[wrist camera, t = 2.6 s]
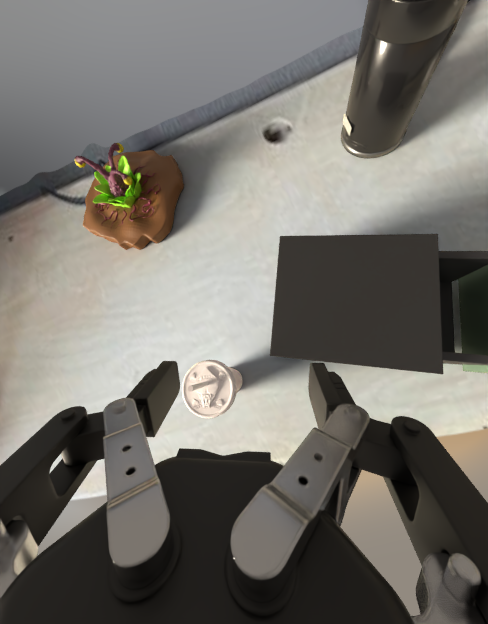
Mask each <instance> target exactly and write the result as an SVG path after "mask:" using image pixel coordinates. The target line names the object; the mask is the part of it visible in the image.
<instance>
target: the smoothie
mask: <svg viewBox="0 0 488 624" xmlns="http://www.w3.org/2000/svg"><path fill="white" fill-rule="evenodd" d="M241 386H242V376H241V374H240V372H239V371H237V370H236V369H233V368H230V367H227V366H226V365H225V364H223V363H222V362H219V361H216V360H206V361H201V362H198V363H196V364H195V365H193V366H192V367H191V368H190V369H189V370H188V372H187V373H186V375H185V377H184V380H183V384H182V395H183V399H184V402H185V404H186V406H187V407H188V408H189V410H190V411H191V412H192V413H194V414H195V415H197V416H199V417H202V418H214V417H217V416H219V415H221V414H223V413H225V412H226V411H227V410H228V409H229V408H230V407H231V405H232V404H233V402H234V399H235V397H236V394H237V392H238V391H239V389H240V388H241Z"/></svg>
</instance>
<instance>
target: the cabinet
mask: <svg viewBox="0 0 488 624" xmlns="http://www.w3.org/2000/svg"><path fill="white" fill-rule="evenodd" d="M270 356H277V357H287V358H296V359H305V360H315V361H324V362H334V363H343V364H352V365H362V366H371V367H380V368H390V369H399V370H408V371H418V372H427V373H437V374H443V357H442V330H441V304H440V277H439V251H438V234H405V235H332V236H280V243H279V255H278V267H277V279H276V290H275V302H274V314H273V326H272V338H271V350H270Z"/></svg>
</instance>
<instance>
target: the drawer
mask: <svg viewBox="0 0 488 624" xmlns="http://www.w3.org/2000/svg"><path fill="white" fill-rule="evenodd" d="M439 277H440V304H441V330H442V357H443V363H448V364H463V371H469V372H480V373H488V251H439ZM457 279H458V285H459V304H460V323H461V343H462V353H455V348H454V326H453V305H452V283H451V282H453V281H455V280H457Z"/></svg>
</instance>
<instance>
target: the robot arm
mask: <svg viewBox="0 0 488 624" xmlns="http://www.w3.org/2000/svg"><path fill="white" fill-rule="evenodd" d="M469 1H470V0H368V5H367V10H366V16H365V21H364V26H363V31H362V36H361V41H360V46H359V51H358V56H357V61H356V66H355V71H354V76H353V81H352V86H351V91H350V96H349V101H348V106H347V111H346V115H345V113H344V117H343V124H344V125H343V128H342V133H341V141H342V144H343V146H344V148H345V149H346V150H347V151H348V152H349V153H351V154H352V155H354V156H357V157H361V158H376V157H380V156H383V155H386V154H388V153H389V152H391V151H393V150H394V149H395V148H396V147H397V146H398V145H399V144H400V143H401V141H402V139H403V137H404V135H405V133H406V130H407V127H408V125H409V123H410V121H411V119H412V117H413V115H414V113H415V111H416V109H417V107H418V104H419V102H420V100H421V98H422V96H423V94H424V92H425V90H426V88H427V86H428V84H429V81H430V79H431V77H432V75H433V73H434V71H435V69H436V67H437V65H438V63H439V60H440V58H441V56H442V54H443V52H444V50H445V48H446V46H447V44H448V42H449V40H450V38H451V36H452V34H453V32H454V30H455V28H456V26H457V23H458V21H459V19H460V16H461V14H462V12H463V10H464V8H465V6H466V4H467V3H468V2H469ZM179 390H180V380H179V373H178V366H177V362H176V361H163V362H162V363H161V364H160V365H159V367H158V368H157V369H153V370H152V371H150V372H149V373H147V374H146V375H145V376H144V377H143V379H142V380H141V381H140V382H139V383H138V385H137V386H136V387H135V388H134V389H133V390H132V391H131V392H130V394H129V395H128V396H127V397H126V398H122V399H118V400H116V401H114V402H112V403H110V404H109V405H108V406H106V408H105V409H104V411H103V412H99V413H93V414H88V415H87V412H86V409H85V408H84V407H81V406H76V407H71V408H68V409H66V410H63V411H61V412H60V413H58V414H57V415H55V416H54V417H53V418H52V419H51V420H50V421H49V422H48V423H46V424H45V425H44V426H43V427H42V428H41V429H40V430H39V431H38V432H37V433H35V434H34V435H33V436H32V437H31V438H30V439H29V440H28V441H27V442H26V443H24V444H23V445H22V446H21V447H20V448H19V449H18V450H17V451H16V452H15V453H14V454H12V455H11V456H10V457H9V458H8V459H7V460H6V461H5V462H4V463H3V464H1V465H0V624H488V503H487V502H486V500H485V499H484V498H483V496H482V495H481V494H480V493H479V491H478V490H477V489H476V488H475V486H474V485H473V484H472V482H471V481H470V480H469V479H468V477H467V476H466V475H465V474H464V472H463V471H462V470H461V468H460V467H459V466H458V465H457V463H456V462H455V461H454V460H453V458H452V457H451V456H450V454H449V453H448V452H447V451H446V449H445V448H444V447H443V446H442V444H441V443H440V442H439V440H438V439H437V438H436V437H435V435H434V434H433V433H432V431H431V430H430V429H429V428H428V427H427V426H426V425H424V424H423V423H421V422H420V421H418V420H415V419H413V418H410V417H404V416H398V417H395V418H393V419H392V422H391V424H388V423H384V422H380V421H377V420H374V419H371V418H370V417H369V415H368V413H367V412H366V411H365V410H364V409H363V408H361V407H359V406H357V405H356V404H355V402H354V401H353V399H352V397H351V395H350V393H349V392H348V390H347V388H346V386H345V384H344V382H343V381H342V379H341V377H340V376H339V375H337V374H336V373H335V372H328V371H327V368H326V366H325V364H324V363H310V370H309V397H310V400H311V404H312V407H313V411H314V414H315V418H316V421H317V425H318V428H319V429H317V428H313V429H312V430H311V432H310V433H309V434H308V436H307V437H306V438H305V439H304V441H303V442H302V443H301V445H300V446H299V447H298V449H297V450H296V451H295V452H294V454H293V455H292V456H291V458H290V459H289V460H288V461H287V463H286V464H285V465H284V466H283V465H281V464H279V463H276V462H274V461H271V457H270V452H248V451H247V452H242V453H237V454H231V455H226V456H222V455H218V454H215V453H211V452H208V451H205V450H201V449H180V448H179V451H178V453H177V456H176V457H172V458H169V459H166V460H164V461H161V462H160V463H158V464H156V465H154V462H153V458H152V455H151V452H150V448H149V445H148V441H147V438H146V437H155V435H156V433H157V432H158V430H159V428H160V426H161V424H162V422H163V421H164V419H165V417H166V415H167V413H168V412H169V410H170V408H171V406H172V404H173V403H174V401H175V399H176V397H177V395H178V393H179ZM60 454H61V455H62V458H63V459H62V460H61V461H60V462H59V463H58V465H57V466H56V467H55V468H54V469H53V471H52V472H51V473H50V474H49V472H50V468H51V466H52V464H53V462H54V461H55V460H56V459H57V457H58V456H59V455H60ZM104 458H105V472H106V486H107V500H108V501H107V502H106V503H105V504H104V505H102V506H101V507H100V508H98V509H97V510H96V511H95V512H93V513H92V514H91V515H89V516H88V517H87V518H86V519H84V520H83V521H82V522H81V523H79V524H78V525H77V526H75V527H74V528H73V529H71V530H70V531H69V532H67V533H66V534H65V535H64V536H62V537H61V538H60V539H59V540H57V541H56V542H55V543H53V544H52V545H51V546H49V547H48V548H47V549H46V550H44V551H43V552H42V553H41V554H39V555H38V546H39V545H40V543H41V542H42V540H43V539H44V537H45V536H46V534H47V533H48V531H49V530H50V529H51V527H52V526H53V524H54V523H55V521H56V520H57V518H58V517H59V515H60V514H61V513H62V511H63V510H64V508H65V507H66V505H67V504H68V502H69V501H70V499H71V498H72V496H73V495H74V494H75V492H76V491H77V489H78V488H79V486H80V485H81V483H82V482H83V480H84V479H85V478H86V476H87V475H88V473H89V472H90V470H91V469H92V467H93V466H94V464H95V463H96V461H97V460H100V459H104ZM361 470H365V471H368V472H371V473H374V474H377V475H380V476H383V477H384V480H385V482H386V484H387V487H388V489H389V491H390V494H391V496H392V498H393V500H394V503H395V505H396V507H397V510H398V512H399V514H400V516H401V519H402V521H403V523H404V526H405V528H406V530H407V533H408V535H409V537H410V540H411V542H412V544H413V546H414V549H415V551H416V553H417V556H418V558H419V560H420V563H421V565H422V569H421V572H420V575H419V579H418V582H417V586H416V597H417V601H418V605H419V609H420V615H417V616H410V614H409V612H408V611H407V609H406V607H405V605H404V604H403V602H402V601H401V599H400V598H399V596H398V595H397V593H396V592H395V591H394V590H393V588H392V587H391V586H390V585H389V583H388V582H387V581H386V580H385V579H384V577H382V575H381V574H380V573H379V572H378V571H377V569H376V568H375V567H374V566H373V565H372V563H371V562H370V561H369V560H368V559H367V558H366V557H365V555H364V554H363V553H362V552H361V551H360V550H359V548H358V547H357V546H356V545H355V544H354V543H353V542H352V541H351V539H350V538H349V537H348V536H347V534H346V533H345V532H344V531H343V530H342V529H341V527H340V526H341V523H342V520H343V517H344V513H345V509H346V506H347V503H348V500H349V498H350V496H351V493H352V491H353V489H354V487H355V484H356V482H357V480H358V477H359V475H360V473H361ZM37 555H38V556H37Z"/></svg>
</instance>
